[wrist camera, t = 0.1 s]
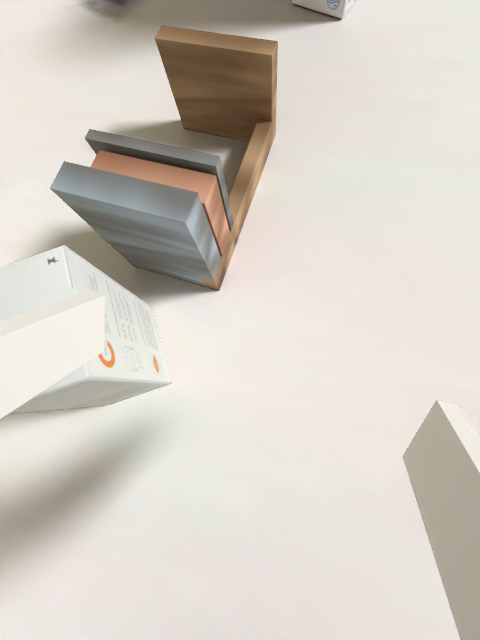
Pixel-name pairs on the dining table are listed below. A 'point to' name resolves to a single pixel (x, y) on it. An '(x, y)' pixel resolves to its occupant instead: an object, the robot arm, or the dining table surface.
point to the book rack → (183, 161)
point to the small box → (119, 332)
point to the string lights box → (327, 6)
